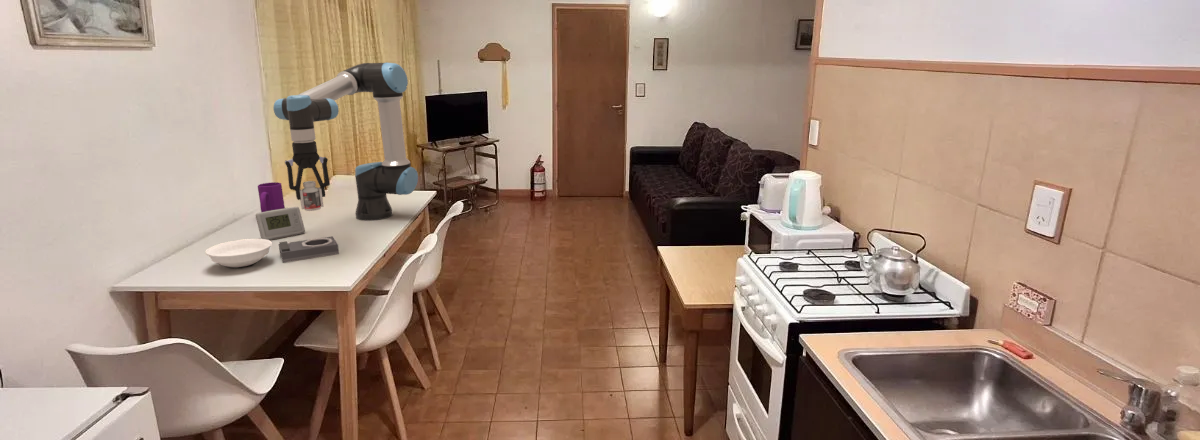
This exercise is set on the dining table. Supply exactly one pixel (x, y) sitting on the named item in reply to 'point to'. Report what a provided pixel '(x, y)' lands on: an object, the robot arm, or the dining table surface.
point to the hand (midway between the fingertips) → (312, 207)
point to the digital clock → (280, 223)
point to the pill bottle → (311, 196)
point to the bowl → (239, 252)
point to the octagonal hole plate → (308, 249)
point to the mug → (271, 196)
